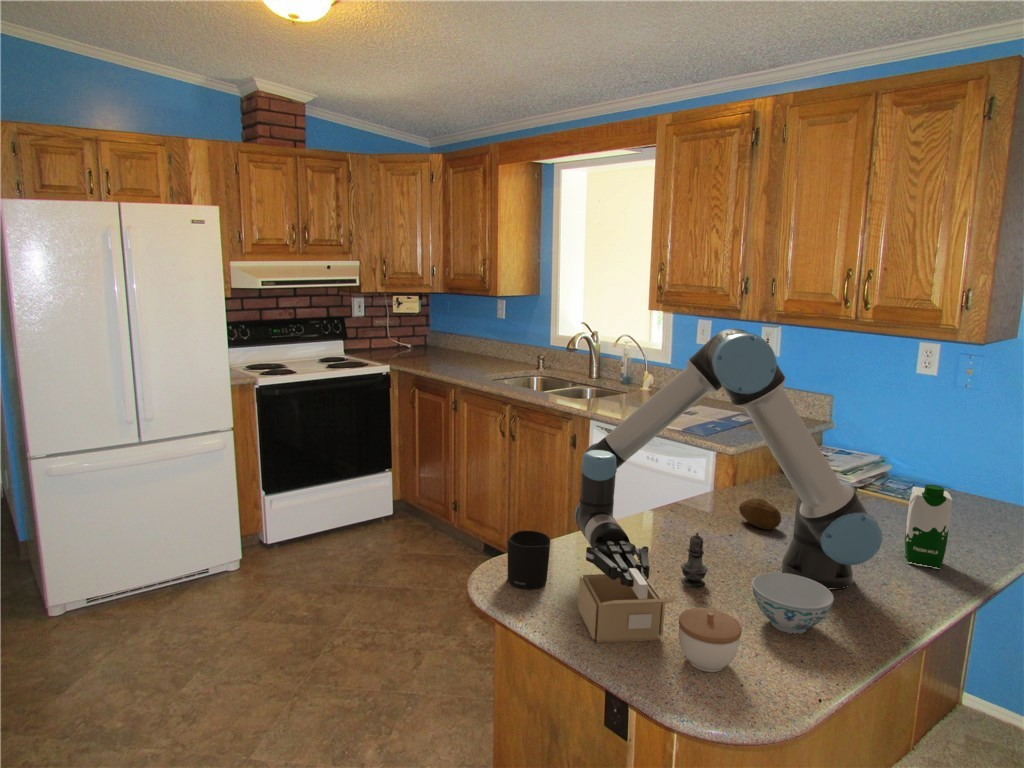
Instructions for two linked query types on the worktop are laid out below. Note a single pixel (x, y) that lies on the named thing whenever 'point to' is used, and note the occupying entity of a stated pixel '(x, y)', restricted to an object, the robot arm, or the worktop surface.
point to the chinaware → (791, 601)
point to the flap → (638, 601)
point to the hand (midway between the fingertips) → (643, 591)
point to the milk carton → (928, 525)
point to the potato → (760, 513)
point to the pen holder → (528, 559)
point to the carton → (618, 611)
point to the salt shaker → (694, 564)
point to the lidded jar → (709, 638)
